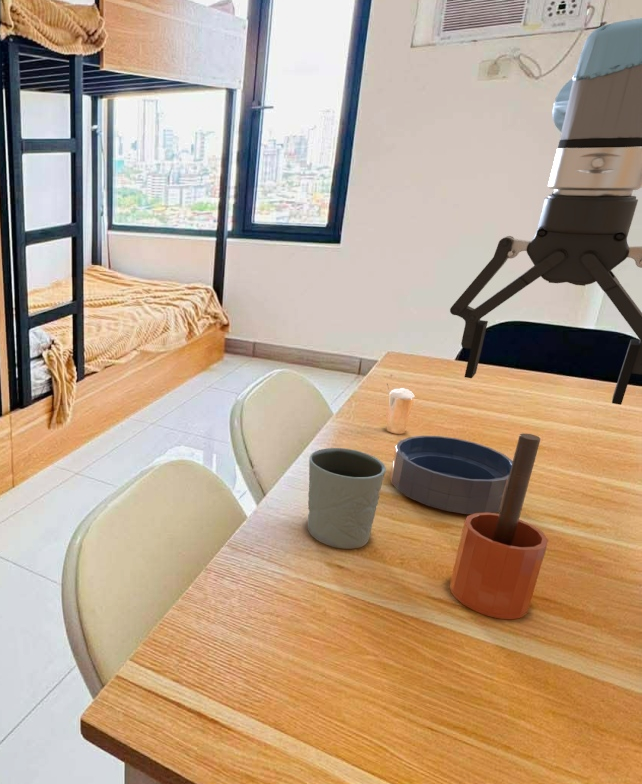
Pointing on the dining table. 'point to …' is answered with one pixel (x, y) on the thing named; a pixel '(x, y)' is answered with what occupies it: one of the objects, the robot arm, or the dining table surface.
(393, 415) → the milkshake
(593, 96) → the robot arm
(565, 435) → the dining table surface
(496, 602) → the pot
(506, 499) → the stirring stick
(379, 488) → the grey cup
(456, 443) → the bowl
